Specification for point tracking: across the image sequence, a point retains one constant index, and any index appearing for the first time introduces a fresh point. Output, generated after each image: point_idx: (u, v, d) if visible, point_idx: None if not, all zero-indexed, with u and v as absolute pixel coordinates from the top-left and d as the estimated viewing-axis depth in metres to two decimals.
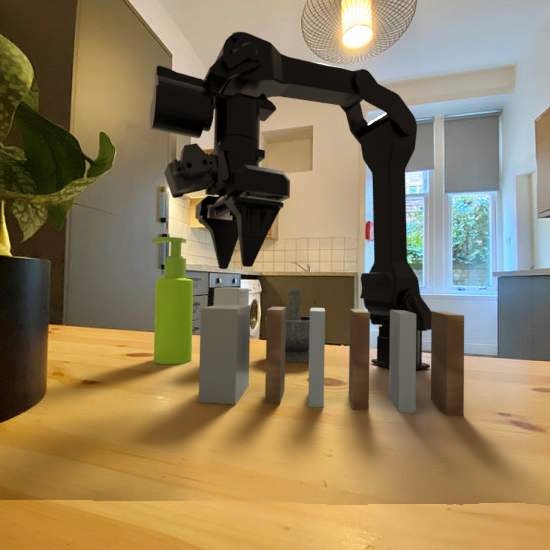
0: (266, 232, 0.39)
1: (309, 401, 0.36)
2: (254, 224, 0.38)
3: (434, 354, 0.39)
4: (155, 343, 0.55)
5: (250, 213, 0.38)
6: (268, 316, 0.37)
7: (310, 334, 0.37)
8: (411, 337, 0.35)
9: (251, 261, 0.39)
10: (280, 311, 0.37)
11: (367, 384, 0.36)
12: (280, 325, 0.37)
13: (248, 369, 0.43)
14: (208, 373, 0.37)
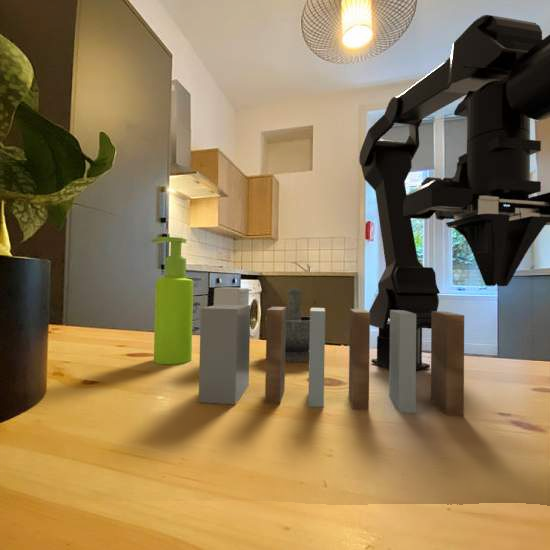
0: (492, 247, 0.35)
1: (309, 401, 0.36)
2: (483, 240, 0.36)
3: (434, 354, 0.39)
4: (155, 343, 0.55)
5: (480, 230, 0.37)
6: (268, 316, 0.37)
7: (310, 334, 0.37)
8: (411, 337, 0.35)
9: (490, 280, 0.36)
10: (280, 311, 0.37)
11: (367, 384, 0.36)
12: (280, 325, 0.37)
13: (248, 369, 0.43)
14: (208, 373, 0.37)
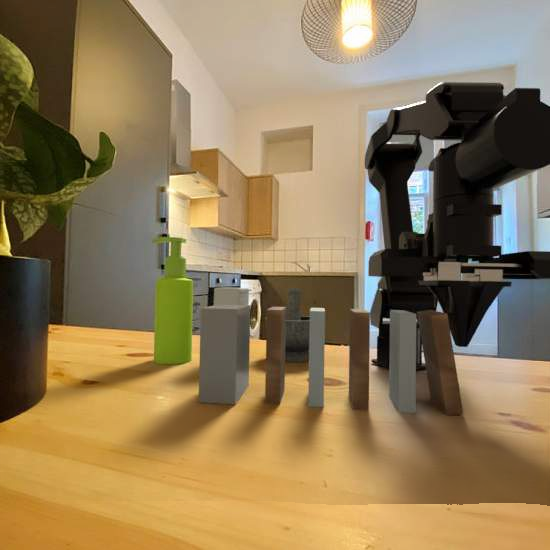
0: (455, 311, 0.35)
1: (309, 401, 0.36)
2: (449, 302, 0.37)
3: (426, 354, 0.39)
4: (155, 343, 0.55)
5: (448, 291, 0.37)
6: (268, 316, 0.37)
7: (310, 334, 0.37)
8: (411, 337, 0.35)
9: (457, 341, 0.37)
10: (280, 311, 0.37)
11: (367, 384, 0.36)
12: (280, 325, 0.37)
13: (248, 369, 0.43)
14: (208, 373, 0.37)
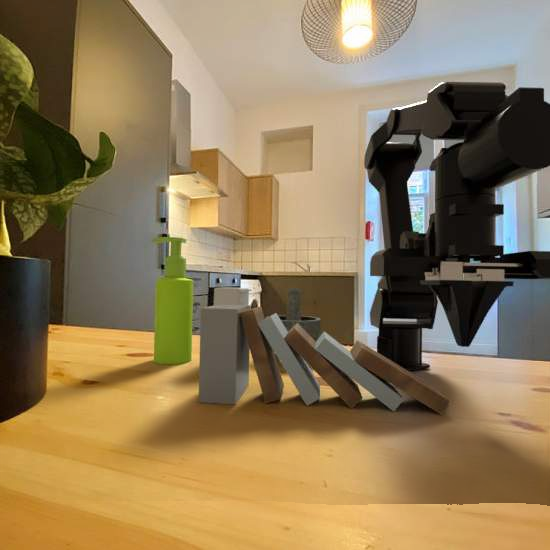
0: (457, 310, 0.35)
1: (305, 401, 0.36)
2: (451, 301, 0.37)
3: None
4: (155, 343, 0.55)
5: (450, 291, 0.37)
6: (243, 319, 0.38)
7: (270, 343, 0.37)
8: (340, 355, 0.36)
9: (459, 341, 0.37)
10: (252, 310, 0.37)
11: (343, 380, 0.36)
12: (256, 324, 0.37)
13: (248, 369, 0.43)
14: (208, 373, 0.37)
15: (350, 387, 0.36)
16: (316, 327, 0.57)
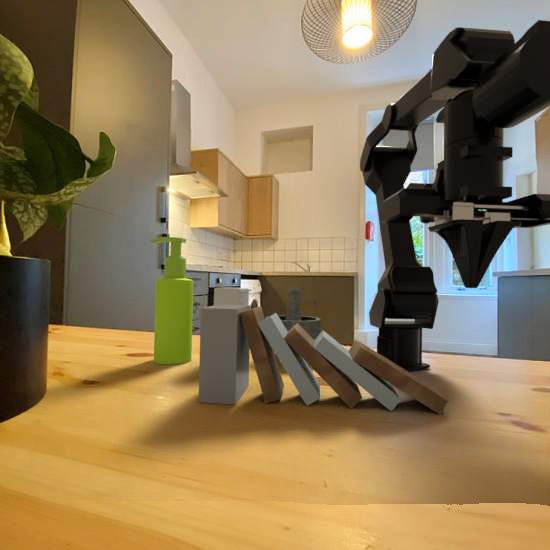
0: (467, 251, 0.36)
1: (305, 401, 0.36)
2: (461, 244, 0.38)
3: None
4: (155, 343, 0.55)
5: (458, 235, 0.38)
6: (243, 319, 0.38)
7: (270, 343, 0.37)
8: (338, 354, 0.36)
9: (468, 282, 0.38)
10: (252, 310, 0.37)
11: (343, 380, 0.36)
12: (256, 323, 0.37)
13: (248, 369, 0.43)
14: (208, 373, 0.37)
15: (350, 387, 0.36)
16: (316, 327, 0.57)
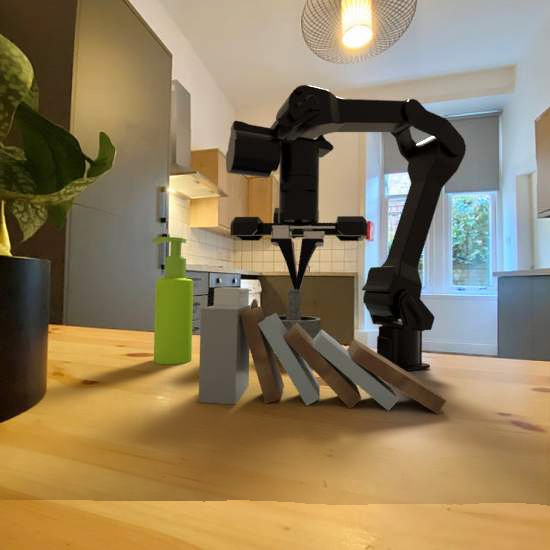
0: None
1: (305, 401, 0.36)
2: None
3: None
4: (155, 343, 0.55)
5: None
6: (243, 319, 0.38)
7: (270, 343, 0.37)
8: (337, 353, 0.36)
9: (293, 285, 0.49)
10: (252, 310, 0.37)
11: (342, 380, 0.36)
12: (256, 323, 0.37)
13: (248, 369, 0.43)
14: (208, 373, 0.37)
15: (349, 387, 0.36)
16: (316, 327, 0.57)
